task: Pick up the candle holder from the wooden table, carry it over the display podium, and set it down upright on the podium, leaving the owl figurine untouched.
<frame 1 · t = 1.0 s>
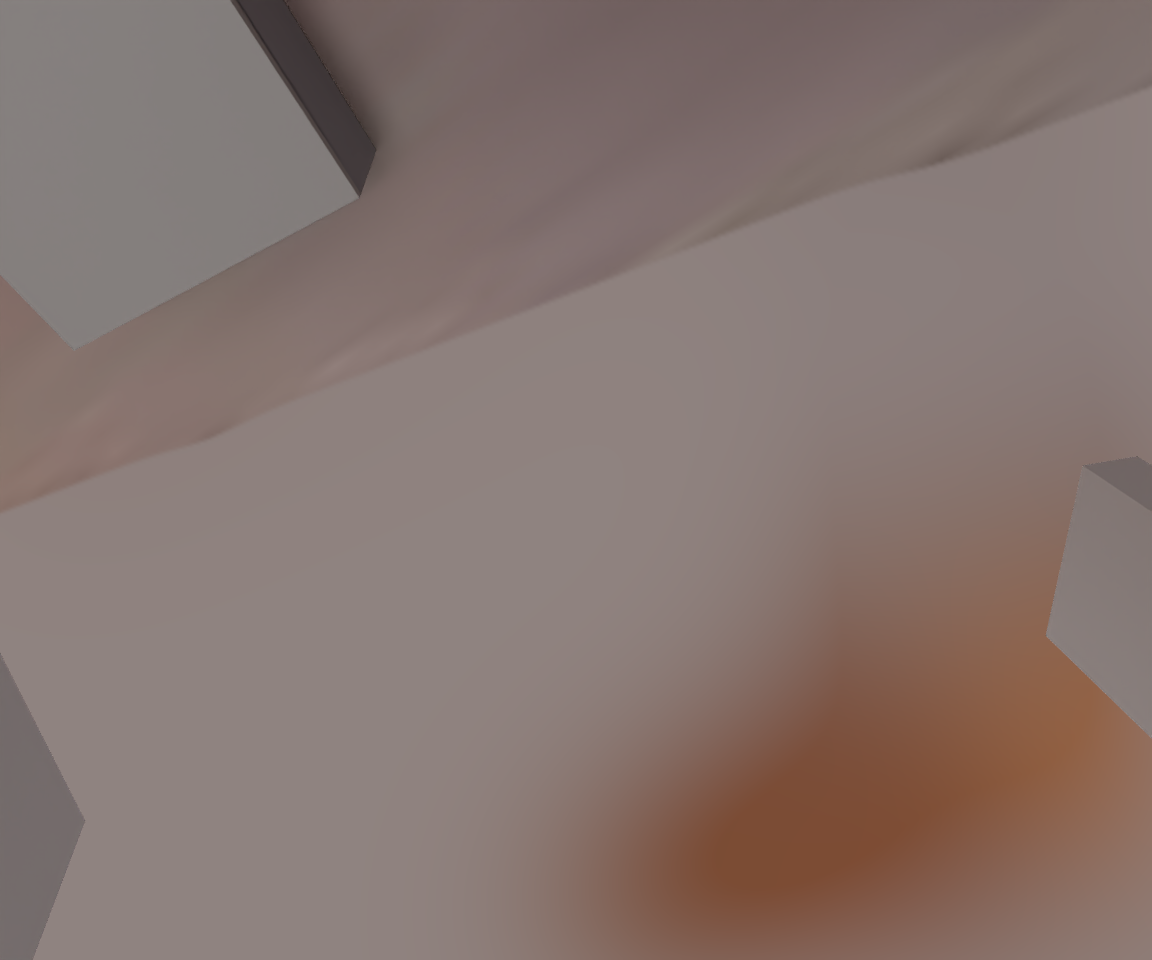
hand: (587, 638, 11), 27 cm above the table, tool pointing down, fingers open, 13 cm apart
display podium: (132, 73, 31), on the table
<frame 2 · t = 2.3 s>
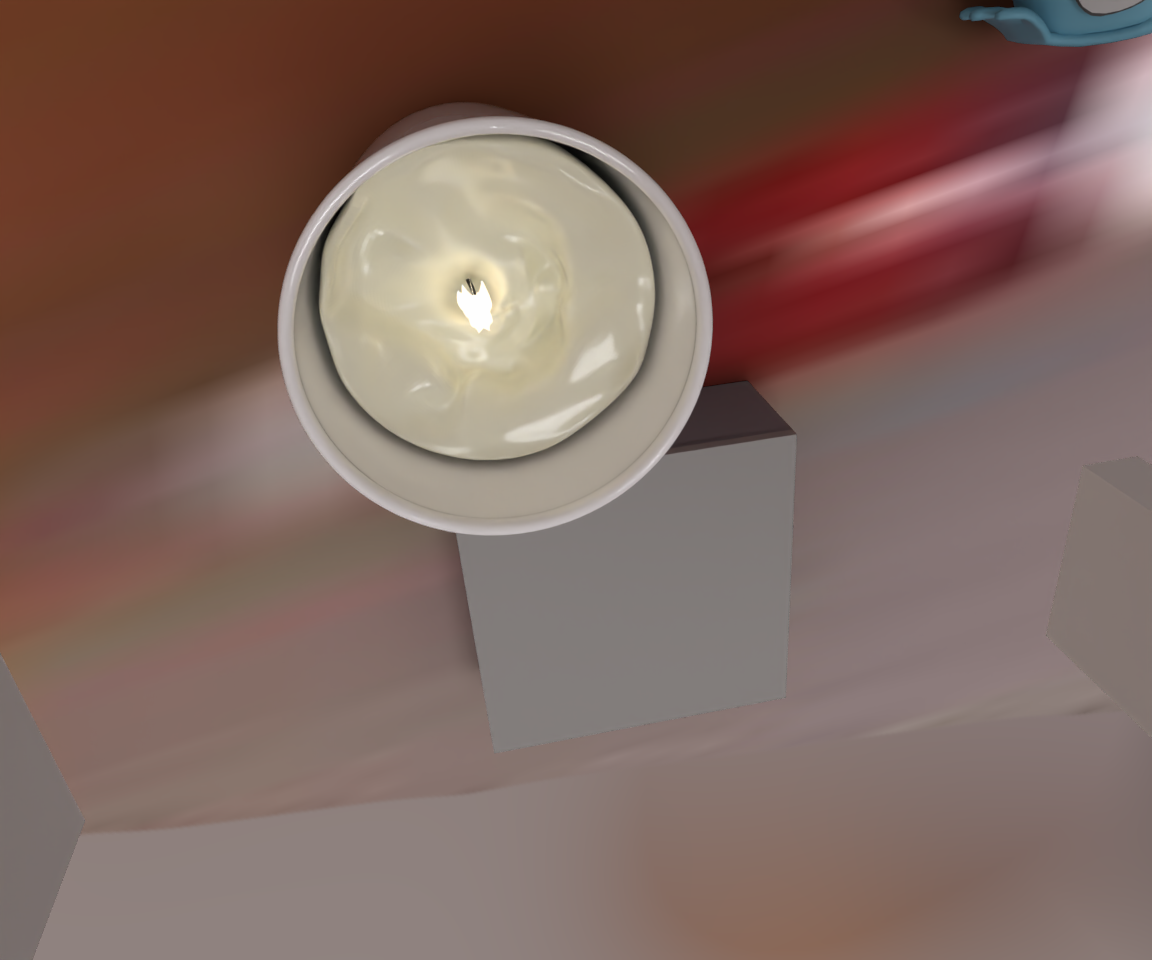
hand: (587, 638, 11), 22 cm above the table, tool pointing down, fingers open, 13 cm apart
candle holder: (468, 231, 31), on the table
display podium: (607, 534, 37), on the table
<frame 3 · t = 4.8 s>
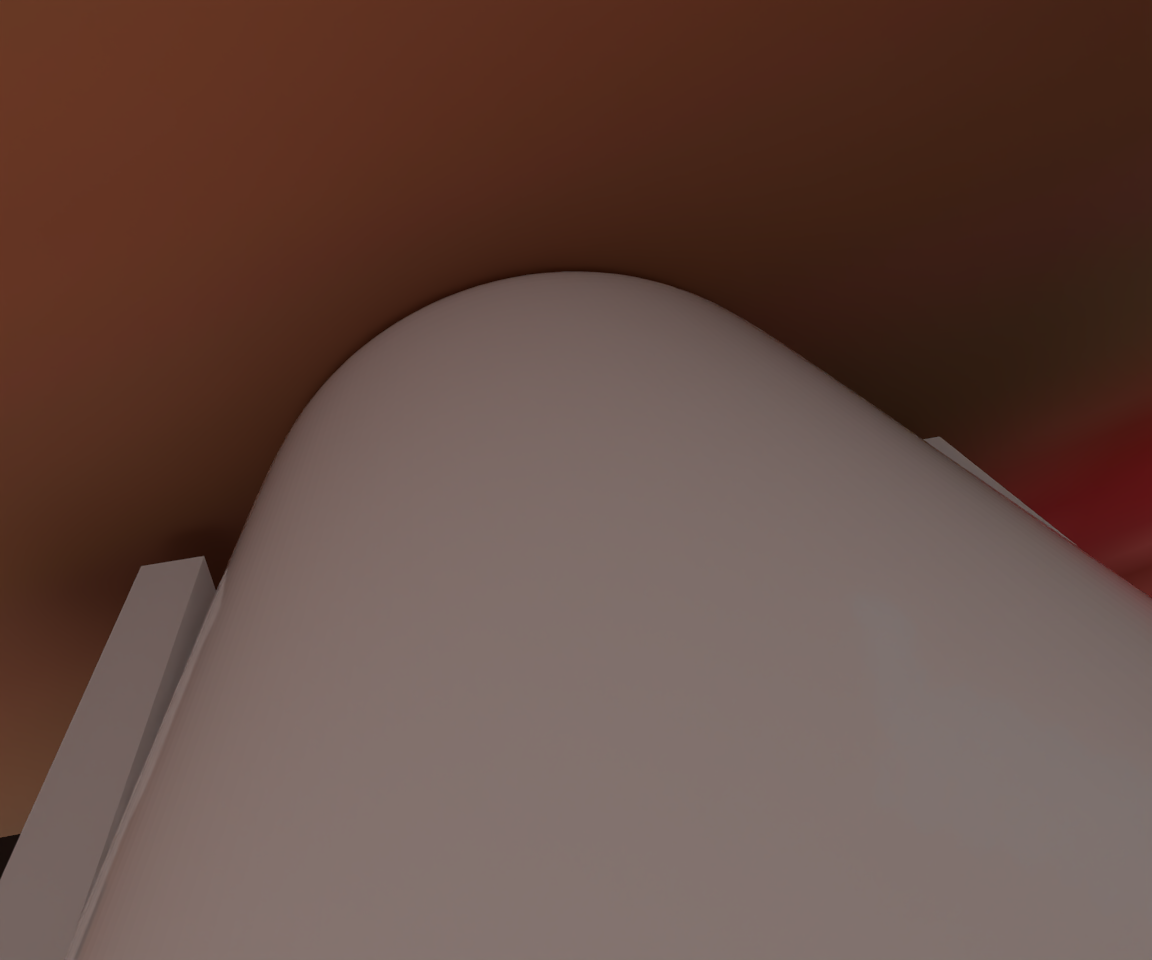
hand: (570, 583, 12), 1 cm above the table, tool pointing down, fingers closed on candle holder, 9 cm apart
candle holder: (557, 541, 13), on the table, touching gripper
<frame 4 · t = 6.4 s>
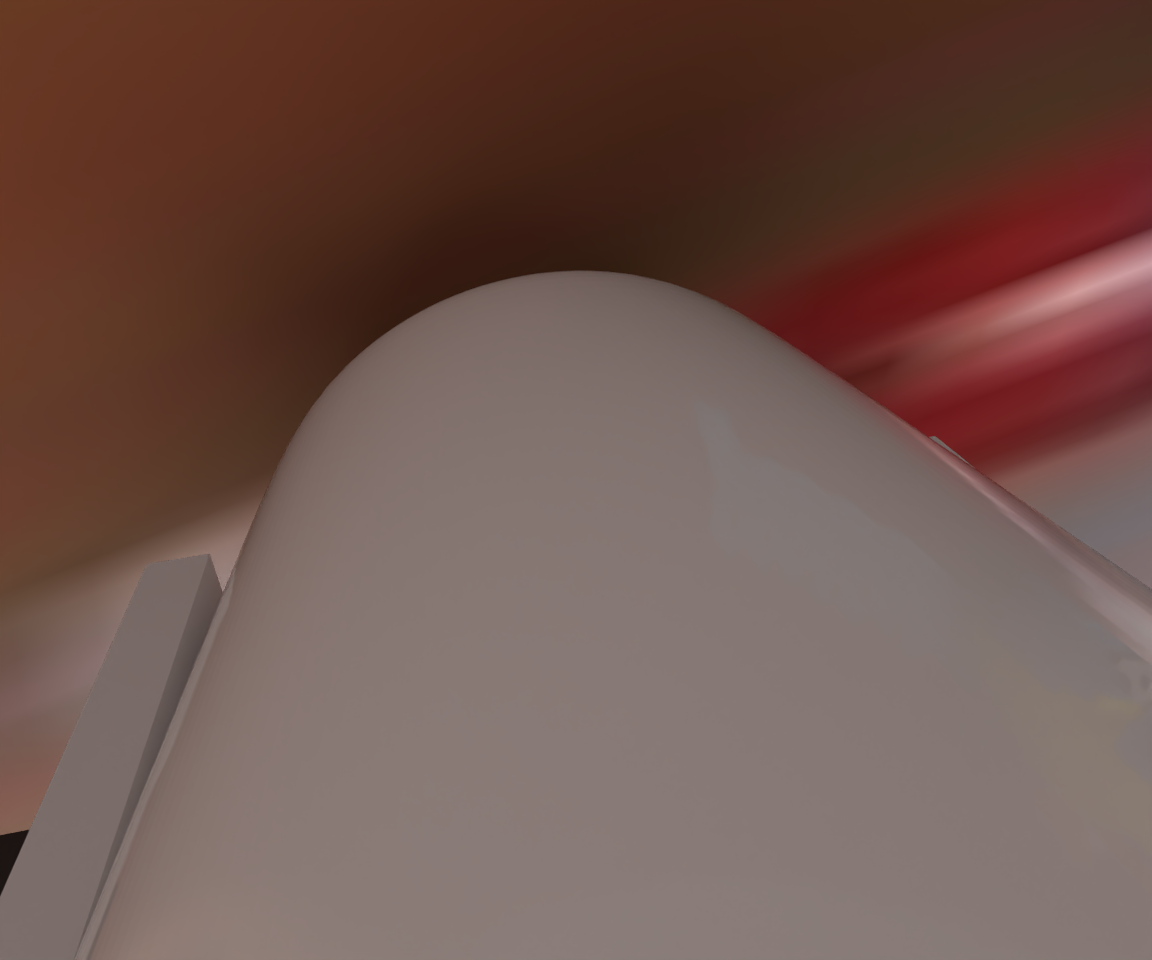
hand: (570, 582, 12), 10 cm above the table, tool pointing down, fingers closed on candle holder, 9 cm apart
candle holder: (562, 539, 13), point 9 cm above the table, touching gripper
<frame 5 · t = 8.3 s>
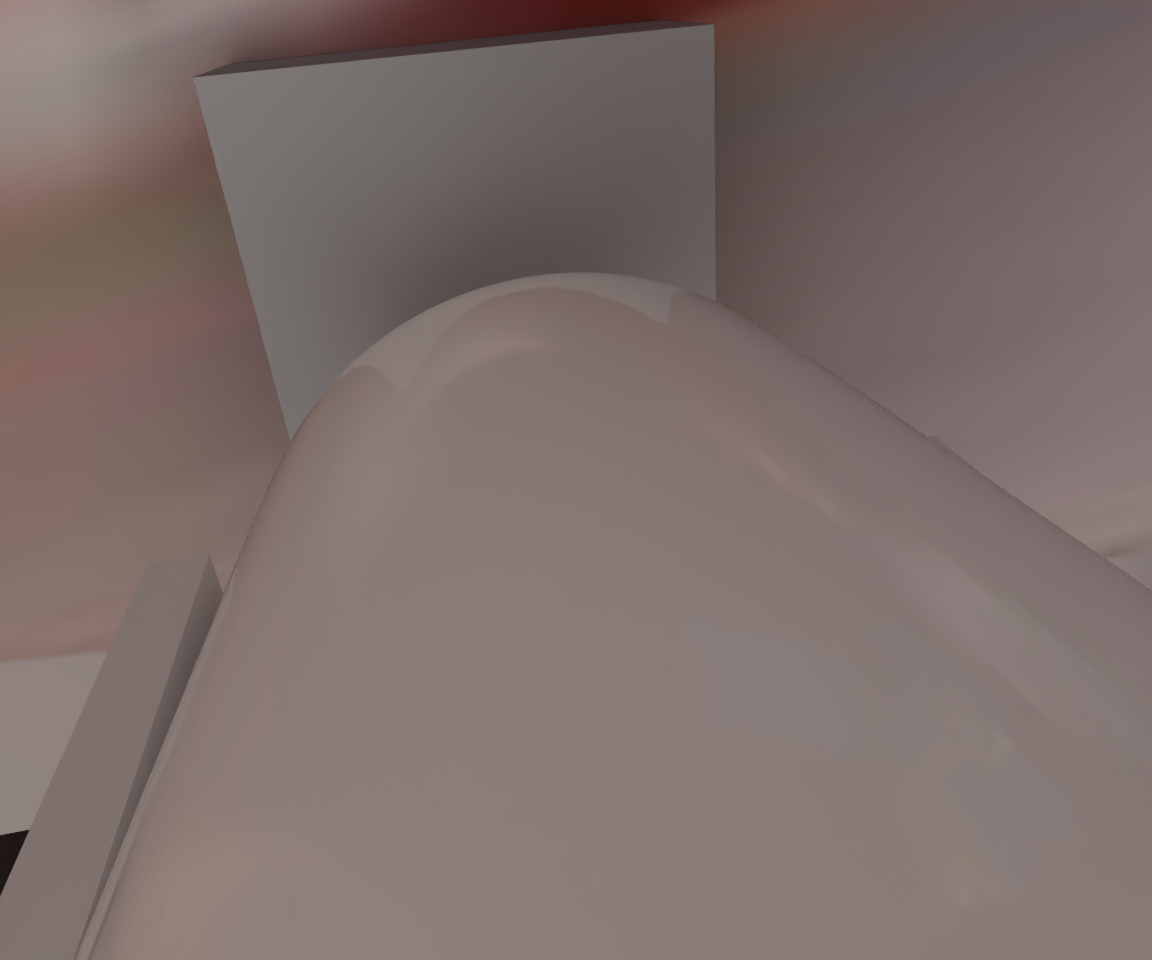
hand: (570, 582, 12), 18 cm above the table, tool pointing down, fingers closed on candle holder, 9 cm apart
candle holder: (563, 541, 13), point 17 cm above the table, touching gripper
display podium: (480, 255, 28), on the table
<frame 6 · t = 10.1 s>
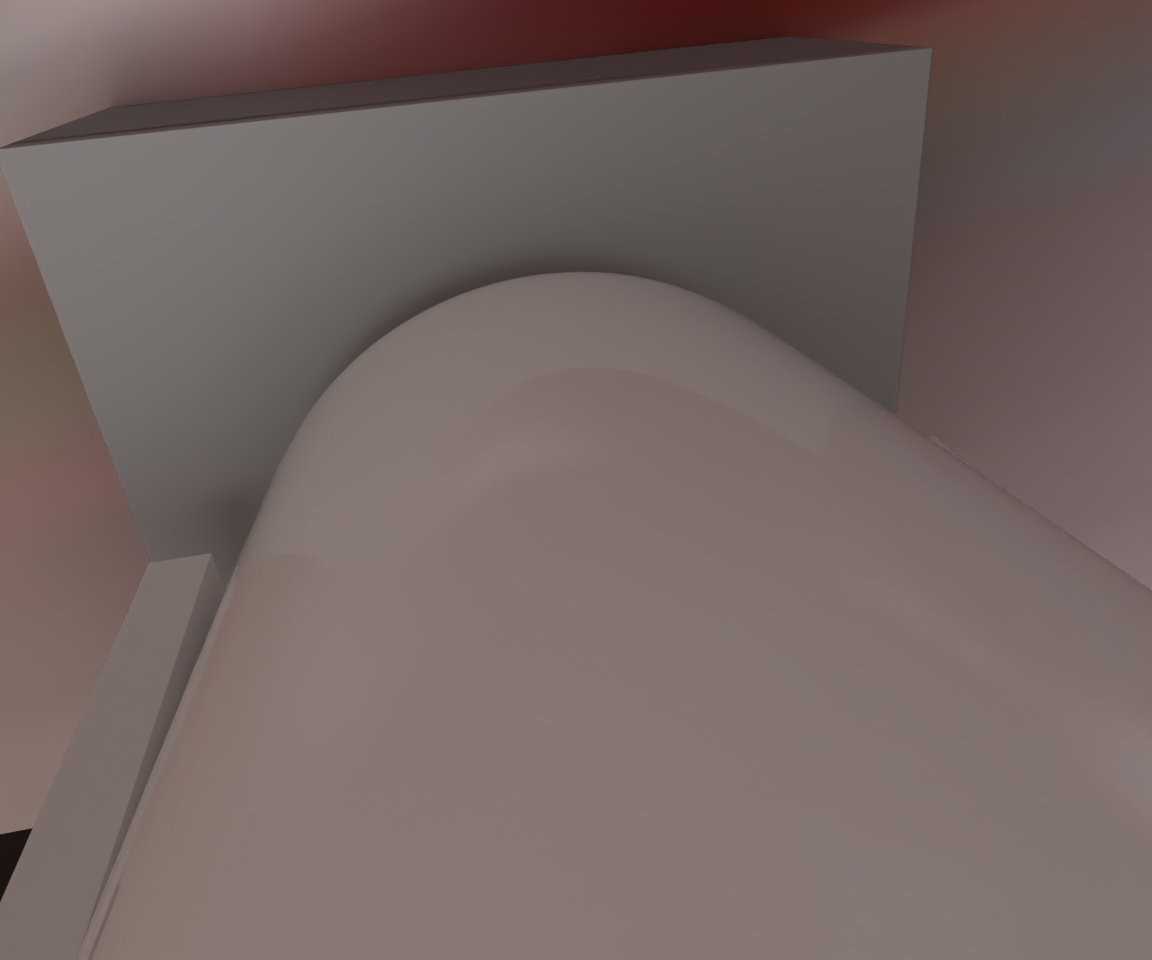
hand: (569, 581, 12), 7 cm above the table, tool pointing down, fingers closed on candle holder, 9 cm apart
candle holder: (563, 540, 13), point 6 cm above the table, touching gripper
display podium: (505, 385, 19), on the table
when the fingers open (7 cm above the table, at t = 10.3 s): candle holder drops 1 cm, resting on display podium.
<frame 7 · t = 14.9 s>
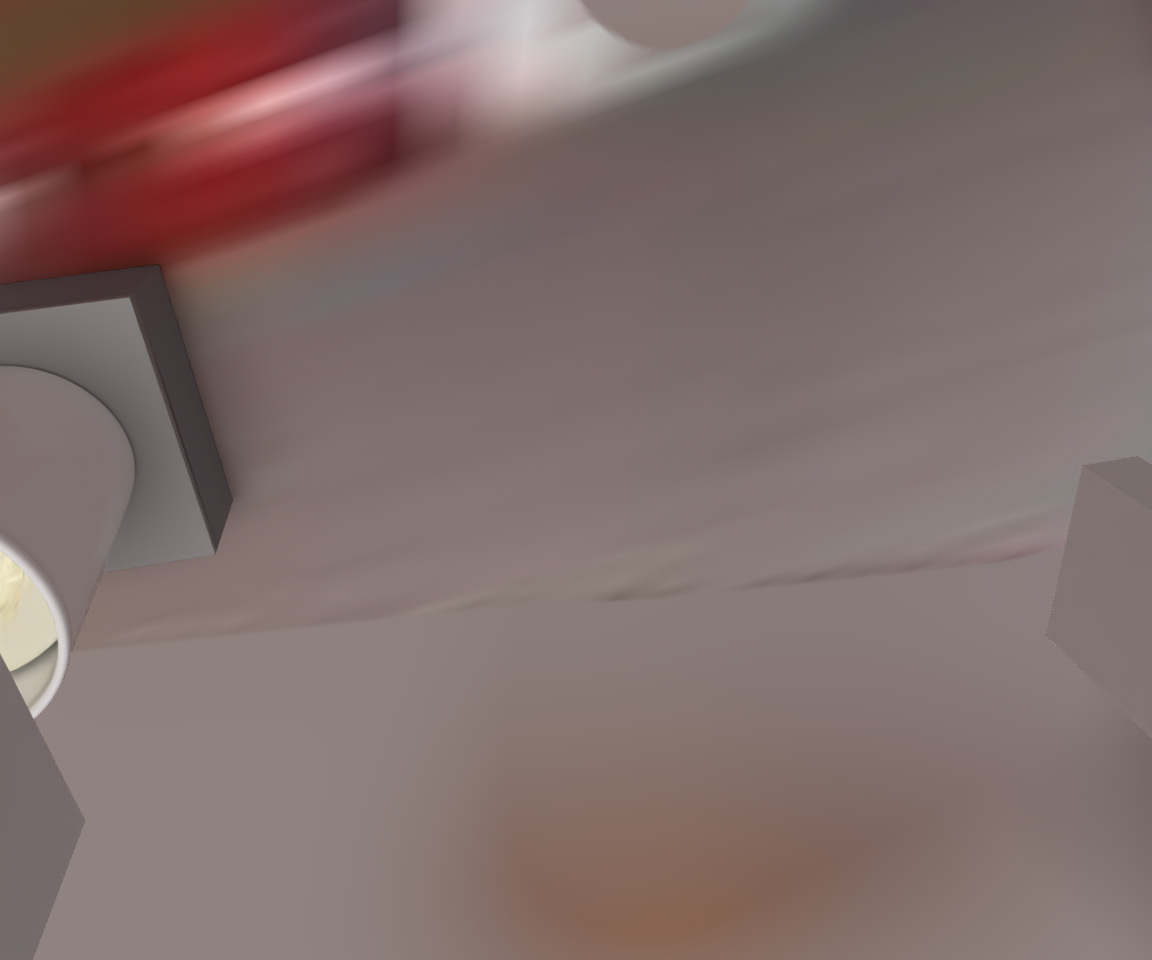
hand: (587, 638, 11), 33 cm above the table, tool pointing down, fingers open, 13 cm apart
candle holder: (30, 455, 37), point 5 cm above the table, touching display podium
display podium: (64, 409, 41), on the table
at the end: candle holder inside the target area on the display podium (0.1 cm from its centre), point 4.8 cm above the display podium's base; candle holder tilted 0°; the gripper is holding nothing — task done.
